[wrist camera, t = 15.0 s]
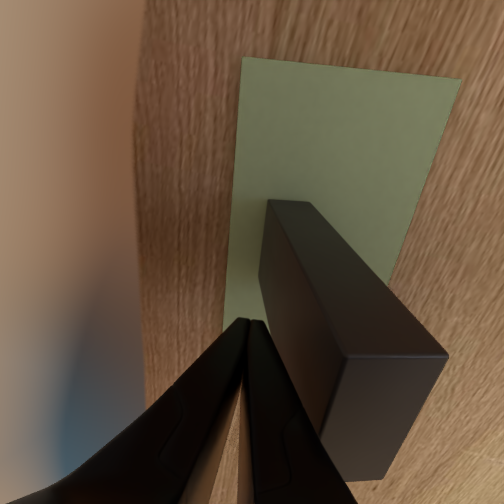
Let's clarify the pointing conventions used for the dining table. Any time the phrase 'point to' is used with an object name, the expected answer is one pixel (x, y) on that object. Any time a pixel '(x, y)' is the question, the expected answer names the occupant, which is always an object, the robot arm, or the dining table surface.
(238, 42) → the dining table surface
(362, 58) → the dining table surface
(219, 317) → the dining table surface
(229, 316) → the mat
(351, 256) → the dark grey rectangular prism
